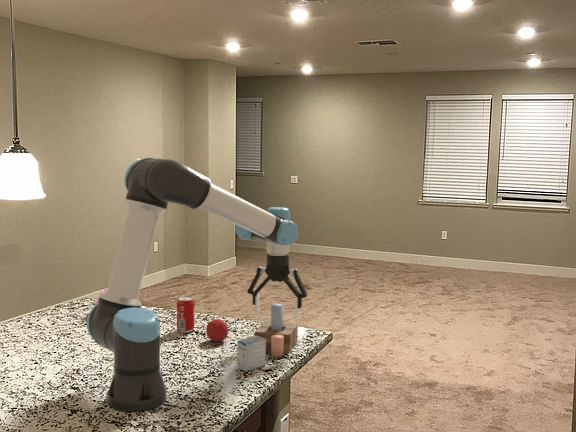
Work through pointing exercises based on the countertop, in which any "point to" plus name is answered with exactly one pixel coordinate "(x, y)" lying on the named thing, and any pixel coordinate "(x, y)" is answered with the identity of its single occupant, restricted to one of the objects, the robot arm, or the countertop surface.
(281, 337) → the short pin
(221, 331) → the tomato
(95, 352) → the countertop surface
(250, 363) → the medicine box
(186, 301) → the beverage can
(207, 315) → the countertop surface
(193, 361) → the countertop surface
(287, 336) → the hole block
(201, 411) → the countertop surface
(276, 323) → the long pin
